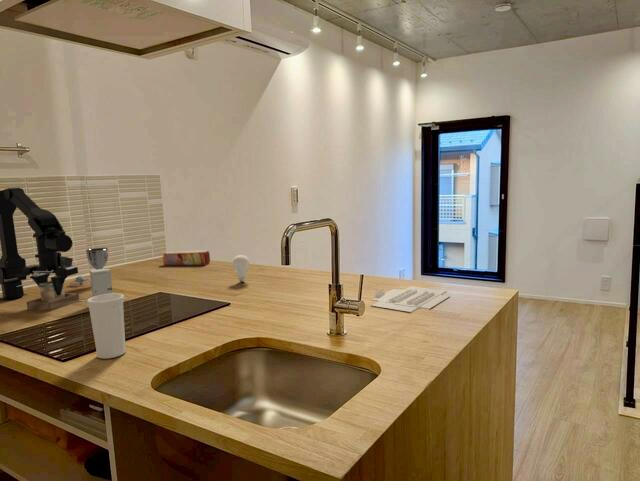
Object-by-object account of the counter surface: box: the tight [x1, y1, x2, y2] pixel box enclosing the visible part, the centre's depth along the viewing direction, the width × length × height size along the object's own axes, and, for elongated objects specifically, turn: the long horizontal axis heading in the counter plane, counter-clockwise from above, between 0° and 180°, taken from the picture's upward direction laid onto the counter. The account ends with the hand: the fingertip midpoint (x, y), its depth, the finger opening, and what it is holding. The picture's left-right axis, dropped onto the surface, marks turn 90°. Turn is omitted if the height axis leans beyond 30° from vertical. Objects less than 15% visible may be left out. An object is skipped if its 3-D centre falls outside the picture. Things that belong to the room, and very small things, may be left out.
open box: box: [26, 292, 80, 312], centre depth 156 cm, size 10×12×3 cm
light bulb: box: [232, 254, 250, 283], centre depth 179 cm, size 7×7×11 cm
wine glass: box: [85, 247, 109, 270], centre depth 182 cm, size 8×8×15 cm
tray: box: [370, 285, 450, 314], centre depth 147 cm, size 20×28×4 cm
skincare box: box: [89, 268, 114, 297], centre depth 153 cm, size 6×4×12 cm
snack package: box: [162, 249, 211, 266], centre depth 221 cm, size 23×7×7 cm, turn 80°
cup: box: [86, 292, 126, 359], centre depth 108 cm, size 8×8×14 cm
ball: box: [74, 275, 86, 285], centre depth 184 cm, size 4×4×4 cm
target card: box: [77, 296, 92, 302], centre depth 165 cm, size 6×9×1 cm, turn 165°
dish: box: [68, 278, 91, 288], centre depth 184 cm, size 7×7×2 cm
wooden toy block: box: [38, 279, 66, 301], centre depth 155 cm, size 5×5×6 cm
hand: (52, 294), depth 156 cm, fingers closed on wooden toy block, 5 cm apart
